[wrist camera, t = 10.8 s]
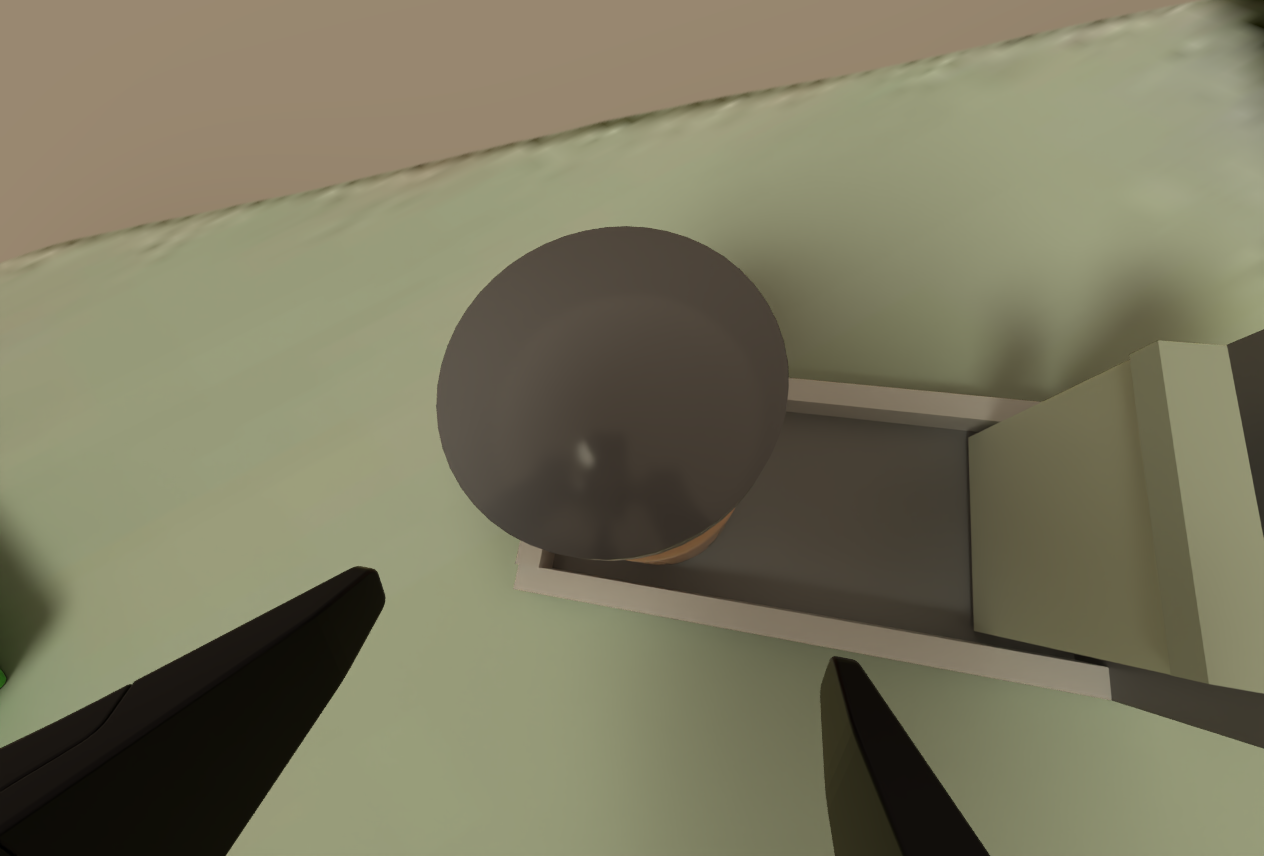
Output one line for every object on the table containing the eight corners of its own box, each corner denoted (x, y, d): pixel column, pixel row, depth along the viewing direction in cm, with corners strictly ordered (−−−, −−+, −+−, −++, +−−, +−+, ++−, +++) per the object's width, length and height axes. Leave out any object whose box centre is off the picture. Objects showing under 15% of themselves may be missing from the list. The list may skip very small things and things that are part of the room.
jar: (757, 542, 20) (851, 492, 8) (608, 586, 20) (464, 607, 8) (707, 402, 22) (717, 185, 10) (572, 444, 22) (416, 285, 10)
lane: (1127, 429, 20) (1564, 287, 10) (1160, 703, 17) (1816, 893, 7) (574, 373, 24) (486, 232, 14) (529, 587, 21) (380, 603, 11)
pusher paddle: (999, 441, 20) (1227, 345, 11) (1009, 636, 18) (1294, 698, 9) (963, 436, 20) (1158, 340, 11) (968, 629, 18) (1209, 684, 9)
